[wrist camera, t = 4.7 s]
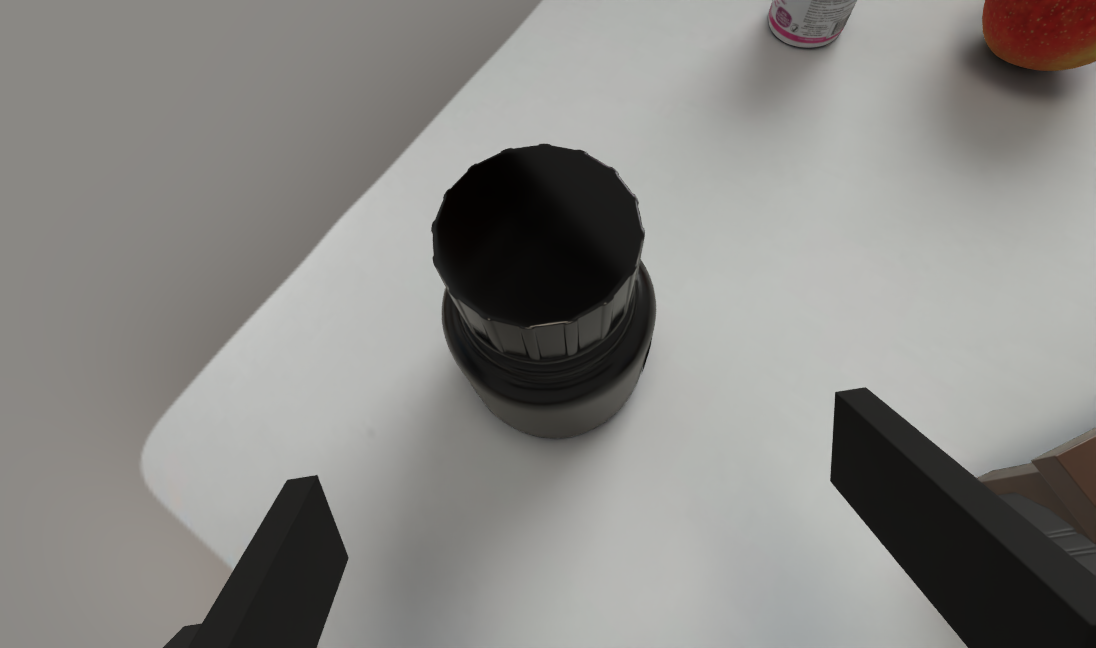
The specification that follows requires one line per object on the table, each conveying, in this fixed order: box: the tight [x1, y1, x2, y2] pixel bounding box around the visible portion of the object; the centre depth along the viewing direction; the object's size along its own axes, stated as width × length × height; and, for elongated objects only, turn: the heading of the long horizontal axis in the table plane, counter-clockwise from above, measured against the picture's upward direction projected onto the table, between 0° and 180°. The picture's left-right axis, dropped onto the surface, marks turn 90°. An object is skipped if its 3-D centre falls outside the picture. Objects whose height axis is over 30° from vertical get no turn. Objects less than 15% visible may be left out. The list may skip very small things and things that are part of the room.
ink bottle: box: [431, 144, 656, 438], centre depth 23 cm, size 10×9×12 cm
